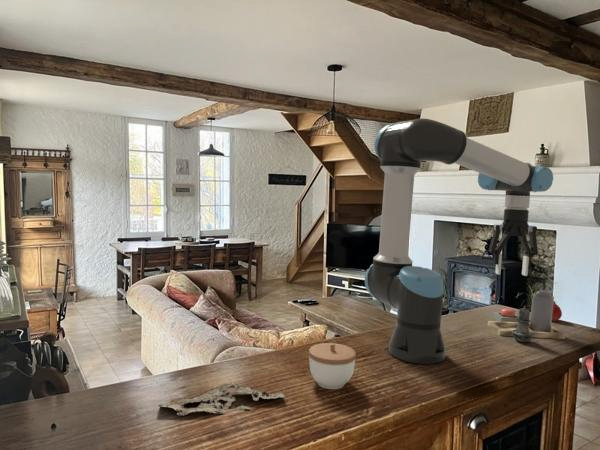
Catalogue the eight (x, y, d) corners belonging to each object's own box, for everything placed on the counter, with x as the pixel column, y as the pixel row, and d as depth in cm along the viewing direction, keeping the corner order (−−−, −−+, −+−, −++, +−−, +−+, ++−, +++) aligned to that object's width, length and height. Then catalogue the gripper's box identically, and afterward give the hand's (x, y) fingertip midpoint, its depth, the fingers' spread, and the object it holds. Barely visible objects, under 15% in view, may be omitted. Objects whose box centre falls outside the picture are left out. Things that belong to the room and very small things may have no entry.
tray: (498, 338, 141) (499, 330, 141) (487, 328, 151) (487, 320, 151) (564, 341, 140) (565, 333, 140) (548, 331, 150) (549, 324, 150)
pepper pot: (534, 335, 142) (538, 292, 141) (526, 329, 148) (529, 287, 147) (554, 336, 142) (558, 293, 141) (544, 330, 148) (548, 288, 147)
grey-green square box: (500, 326, 154) (501, 317, 153) (493, 320, 161) (493, 311, 160) (521, 327, 153) (522, 318, 153) (513, 321, 160) (513, 312, 160)
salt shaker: (536, 348, 133) (539, 308, 132) (516, 347, 133) (519, 307, 132) (526, 341, 139) (530, 303, 138) (507, 340, 139) (510, 302, 138)
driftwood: (270, 372, 103) (274, 359, 100) (288, 413, 96) (292, 400, 93) (155, 402, 92) (155, 389, 89) (165, 451, 85) (165, 438, 82)
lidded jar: (325, 398, 97) (327, 356, 96) (298, 379, 106) (300, 340, 105) (363, 388, 103) (366, 348, 102) (335, 370, 112) (337, 333, 111)
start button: (503, 320, 155) (504, 311, 154) (498, 316, 159) (499, 308, 159) (516, 320, 154) (517, 312, 154) (511, 317, 159) (511, 308, 159)
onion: (539, 322, 160) (541, 300, 160) (545, 319, 164) (547, 297, 163) (557, 326, 156) (559, 303, 155) (563, 323, 160) (565, 301, 159)
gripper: (543, 209, 156) (537, 273, 159) (481, 206, 158) (476, 270, 160) (554, 210, 149) (548, 278, 151) (488, 207, 150) (483, 275, 152)
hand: (511, 274), depth 155 cm, fingers open, 8 cm apart
